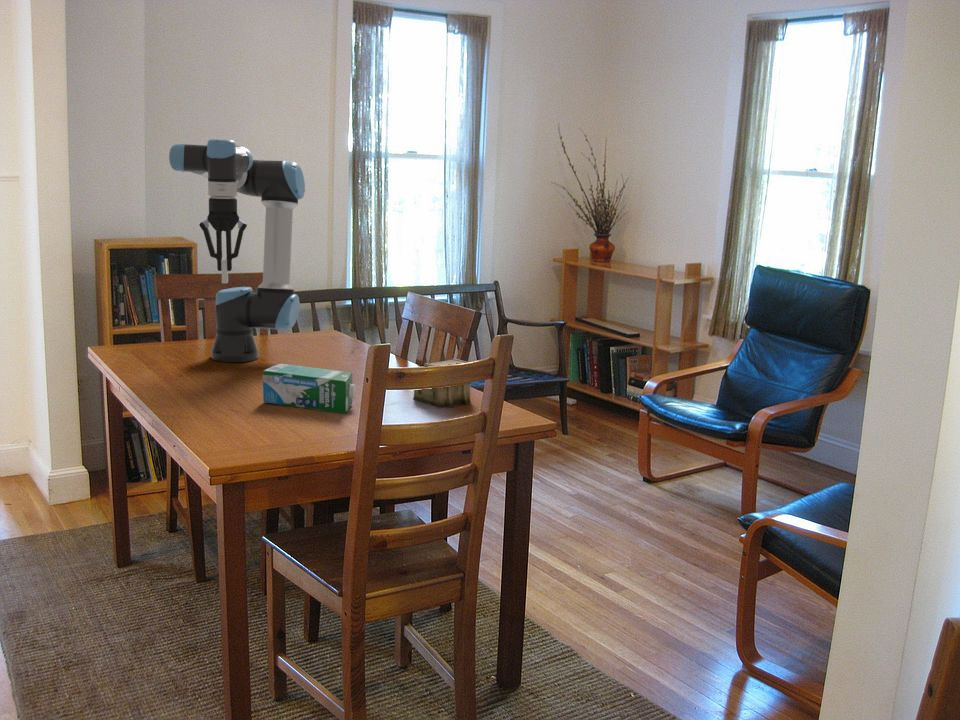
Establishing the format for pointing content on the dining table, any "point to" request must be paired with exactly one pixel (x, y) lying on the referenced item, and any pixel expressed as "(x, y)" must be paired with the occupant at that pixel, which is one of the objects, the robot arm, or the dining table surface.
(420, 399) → the miniature house
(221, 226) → the robot arm
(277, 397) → the milk carton
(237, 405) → the dining table surface
